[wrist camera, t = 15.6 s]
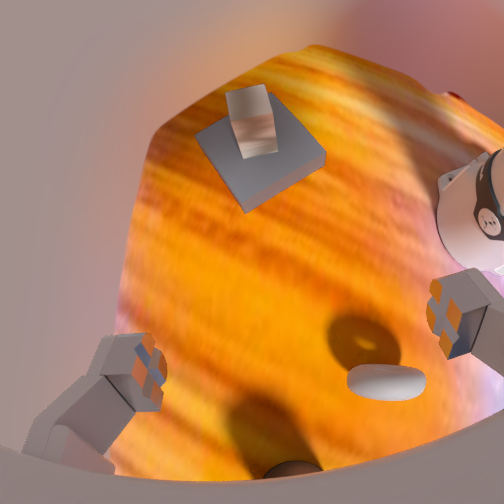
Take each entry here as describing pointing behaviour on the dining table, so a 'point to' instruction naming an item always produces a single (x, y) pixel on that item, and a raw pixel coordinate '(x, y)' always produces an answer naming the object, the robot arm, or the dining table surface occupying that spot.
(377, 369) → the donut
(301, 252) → the dining table surface
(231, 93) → the grey upright block
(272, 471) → the pillar candle
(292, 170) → the grey plinth
